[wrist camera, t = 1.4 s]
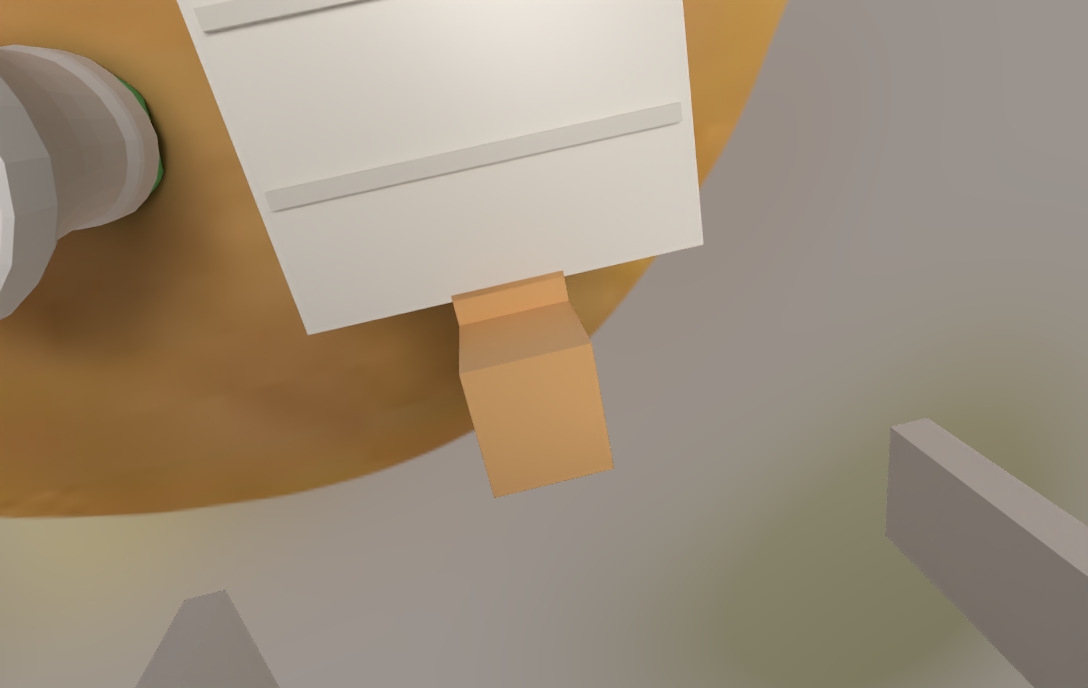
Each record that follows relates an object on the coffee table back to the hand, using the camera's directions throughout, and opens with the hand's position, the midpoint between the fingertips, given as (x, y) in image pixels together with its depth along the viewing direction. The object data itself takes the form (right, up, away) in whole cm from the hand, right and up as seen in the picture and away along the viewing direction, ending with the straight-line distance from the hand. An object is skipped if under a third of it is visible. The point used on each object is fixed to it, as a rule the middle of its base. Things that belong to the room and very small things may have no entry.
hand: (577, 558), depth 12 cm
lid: (-3, +10, +7) cm, 13 cm away
